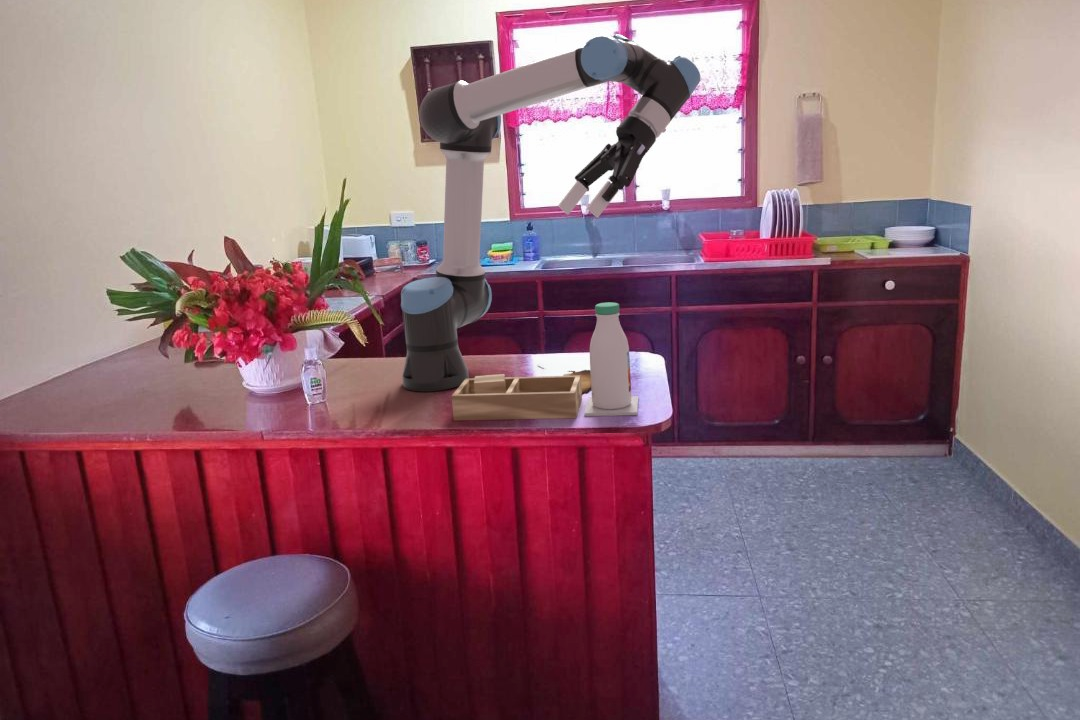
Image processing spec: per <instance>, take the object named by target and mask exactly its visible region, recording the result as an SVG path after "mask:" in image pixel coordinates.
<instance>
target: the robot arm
mask: <svg viewBox="0 0 1080 720" xmlns="http://www.w3.org/2000/svg"><path fill="white" fill-rule="evenodd" d="M608 82H616V83H621V84H624V85H625V86H627V87H629V88H631V89H632V90H634V91H635V92H637V93H638V94H640V95H642V96H641V97H640V98H639V99H638V100H637V102H636V103H635V104H634V105H633V106H632V108H631V109H630V110H629V112H628V116H625V118H624V119H623V120H622V121H621V123H620V124H619V125H618V127H617V128H616V131H615V133H616V136H617V141H616V143H614V144H610V143H607V144H606V145H605V146H604V148H603V149H601V151H600V152H599V153H598V154H597V155H596V156H595V157H594V158H593V159H592V160H591V161H590V162H588V164H587V165H586V166H585V167H583V168H582V169H581V170H580V171H579V172H578V173H577V174H576V175H575V176H574V179H575V180H576V182H575V183H574V185H573V186H572V187H571V189H569V190H568V192H567V194H565V196H564V197H563V199H562V200H561V202H559V204H558V206H557V207H558V208H560V209H561V211H562V212H564V213H565V214H566V215H568V216H570V214H571V213H572V211H573V210H574V208H575V207H576V206H577V204H578V203H579V202H580V201H581V199H583V197H584V196H585V194H586V193H587V192H589V191H590V186H591V185H592V184H593V183H595V182H596V181H597V180H598V179H600V178H601V177H602V176H603V175H605V174H607V172H609V171H611V172H612V171H613V172H612V174H611V175H610V176H608V178H607V179H608V180H607V181H606V182H605V184H603V186H602V187H601V189H600V190H599V191H598V193H597V194H596V195H595V197H593V199H592V200H591V202H590V203H589V204H588V206H587V207H586V210H588V211H589V212H590V213H591V214H592V216H594V217H595V218H599V217H600V216H601V215H602V213H603V212H604V210H605V209H606V208H607V207H608V206H609V204H610V203H611V202H612V200H613V199H614V197H615V196H616V195H617V194H618V192H619V191H621V190H622V189H624V187H625V188H629V187H630V186H631V183H632V181H633V180H634V177H635V176H636V174H637V171H638V169H639V167H640V164H641V162H642V160H643V158H644V157H645V156H646V154H647V153H648V152H649V151H650V149H652V147H653V145H654V144H655V143H656V141H657V140H656V139H658V138H659V137H660V136H661V134H662V133H663V134H664V133H666V130H667V129H666V128H667V126H668V125H669V124H670V122H671V121H673V119H674V117H675V116H676V115H677V114H678V113H679V112H680V110H681V109H682V108H683V106H685V104H686V102H688V100H690V98H691V96H692V94H693V93H694V91H695V90H696V89H697V87H698V85H699V84H700V82H701V72H700V71H699V68H698V67H697V66H696V64H695V63H693V62H692V60H690V59H688V58H687V57H685V56H681V55H675V56H672V57H671V59H669V60H668V61H665V60H663V59H661V58H659V57H657V56H656V55H655V54H653V53H651V52H650V51H648V50H646V49H645V48H643V47H642V46H640V45H639V44H637V43H635V41H633V40H632V39H629V38H628V37H625V36H623V35H622V34H615V35H613V36H612V35H606V34H605V35H597V36H593V37H592V38H590V39H589V40H587V42H586V43H585V44H583V45H580V46H577V47H573V48H571V49H568V50H565V51H563V52H559V53H557V54H553V55H551V56H547V57H545V58H541V59H539V60H535V61H533V62H530V63H526V64H524V65H521V66H518V67H515V68H512V69H509V70H505V71H502V72H500V73H497V74H494V75H491V76H488V77H485V78H481V79H478V80H476V81H475V80H474V82H469V83H468V82H466V81H464V80H458V81H456V82H453V83H451V84H447V85H443V86H439V87H436V88H434V89H431V90H430V91H429V92H428V93H426V95H425V96H424V98H423V99H422V101H421V103H420V104H419V105H420V106H419V112H418V115H419V122H420V126H421V127H422V129H423V131H424V132H425V133H426V135H428V137H430V138H431V139H432V140H434V141H436V142H438V143H439V151H440V152H441V153H442V154H443V156H444V157H445V159H446V160H445V185H444V186H445V188H444V189H445V190H444V191H445V192H444V217H443V220H444V222H443V248H442V251H443V253H442V262H440V264H439V265H438V266H436V269H435V276H432V277H424V278H422V279H416V280H414V281H411V282H409V283H408V284H405V286H403V287H402V289H401V292H400V307H401V310H402V311H401V312H402V321H403V329H404V337H405V344H406V345H405V346H406V358H405V362H404V365H403V369H402V370H403V371H402V377H401V378H402V379H401V380H402V385H403V386H402V387H403V388H404V389H406V390H409V391H414V392H437V391H446V390H449V389H453V388H454V389H455V388H459V386H460V385H461V384H462V383H463V381H464V380H465V379H470V376H469V375H470V374H469V368H468V366H467V365H466V364H467V363H466V362H465V359H464V358H463V355H462V352H461V351H460V348H459V342H458V340H459V339H458V331H457V330H458V328H459V329H460V328H461V327H464V326H466V325H471V324H472V323H475V322H477V321H478V320H479V319H480V318H482V317H483V316H485V314H486V313H487V312H488V311H489V309H490V307H491V305H492V304H491V303H492V300H493V299H492V298H493V297H492V296H493V295H492V294H493V293H492V288H491V286H490V284H489V283H488V281H487V279H486V270H485V269H484V268H483V266H482V265H481V264H480V257H481V256H480V255H481V254H480V253H481V231H482V214H483V213H482V209H483V208H482V207H483V190H484V189H483V188H484V170H485V169H484V168H485V161H486V159H487V158H488V157H489V156H490V155H491V154H492V142H493V140H494V138H495V137H496V136H497V135H498V133H499V131H500V128H501V125H502V115H504V114H507V113H511V112H513V111H516V110H519V109H523V108H526V107H530V106H533V105H537V104H539V103H543V102H545V101H548V100H552V99H555V98H557V97H561V96H565V95H567V94H571V93H574V92H578V91H580V90H584V89H587V88H591V87H594V86H598V85H600V84H604V83H608Z"/></svg>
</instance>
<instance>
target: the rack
mask: <svg viewBox="0 0 1080 720" xmlns="http://www.w3.org/2000/svg"><path fill="white" fill-rule="evenodd" d="M474 379H475V377H474V378H469V379H465V380H464V381H463V383H462V384H461V385H460V386H458V387H457V388H456V390H454V392H453V393H452V395H451V406H452V413H453V414H452V416H453V421H486V420H487V421H489V420H490V421H491V420H493V421H494V420H541V419H543V420H544V419H547V420H548V419H550V420H551V419H577V417H578V414H579V410H580V406H581V403H582V400H583V395H582V391H581V375H577V376H563V375H552V376H551V375H549V376H547V375H546V376H545V375H544V376H542V375H541V376H513V377H510V376H509V377H507V376H505V385H506V390H507V392H506V393H491V394H475V390H474Z"/></svg>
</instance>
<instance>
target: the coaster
mask: <svg viewBox="0 0 1080 720" xmlns="http://www.w3.org/2000/svg"><path fill="white" fill-rule="evenodd" d="M638 408H639V395H631V403H630V405H628V406H627V407H624V408H619V409H600V408H597V407H595V406H594V405H593V403H592V396H589V397H588V398H587V402H586V406H585V410H584V417H601V416H603V417H606V416H610V417H611V416H612V417H613V416H638Z"/></svg>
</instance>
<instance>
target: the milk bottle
mask: <svg viewBox="0 0 1080 720" xmlns="http://www.w3.org/2000/svg"><path fill="white" fill-rule="evenodd" d="M594 311H595V315H594V316H595V317H596V325H595V329H594V331H593V333H592V336H591V338H590V345H589V370H590V373H591V388H590V389H591V391H590V392H591V397H592V403H593V405H594V406H595V407H597V408H600V409H619V408H624V407H627V406H628V405H630V403H631V396H632V381H631V379H632V377H631V361H630V360H631V358H630V346H629V341H628V337H627V336H626V333H625V332H624V330H623V328H622V326H621V323H620V318H619V316H620V304H619V303H618V302H609V301H608V302H600V303H596V305H595V306H594Z"/></svg>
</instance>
